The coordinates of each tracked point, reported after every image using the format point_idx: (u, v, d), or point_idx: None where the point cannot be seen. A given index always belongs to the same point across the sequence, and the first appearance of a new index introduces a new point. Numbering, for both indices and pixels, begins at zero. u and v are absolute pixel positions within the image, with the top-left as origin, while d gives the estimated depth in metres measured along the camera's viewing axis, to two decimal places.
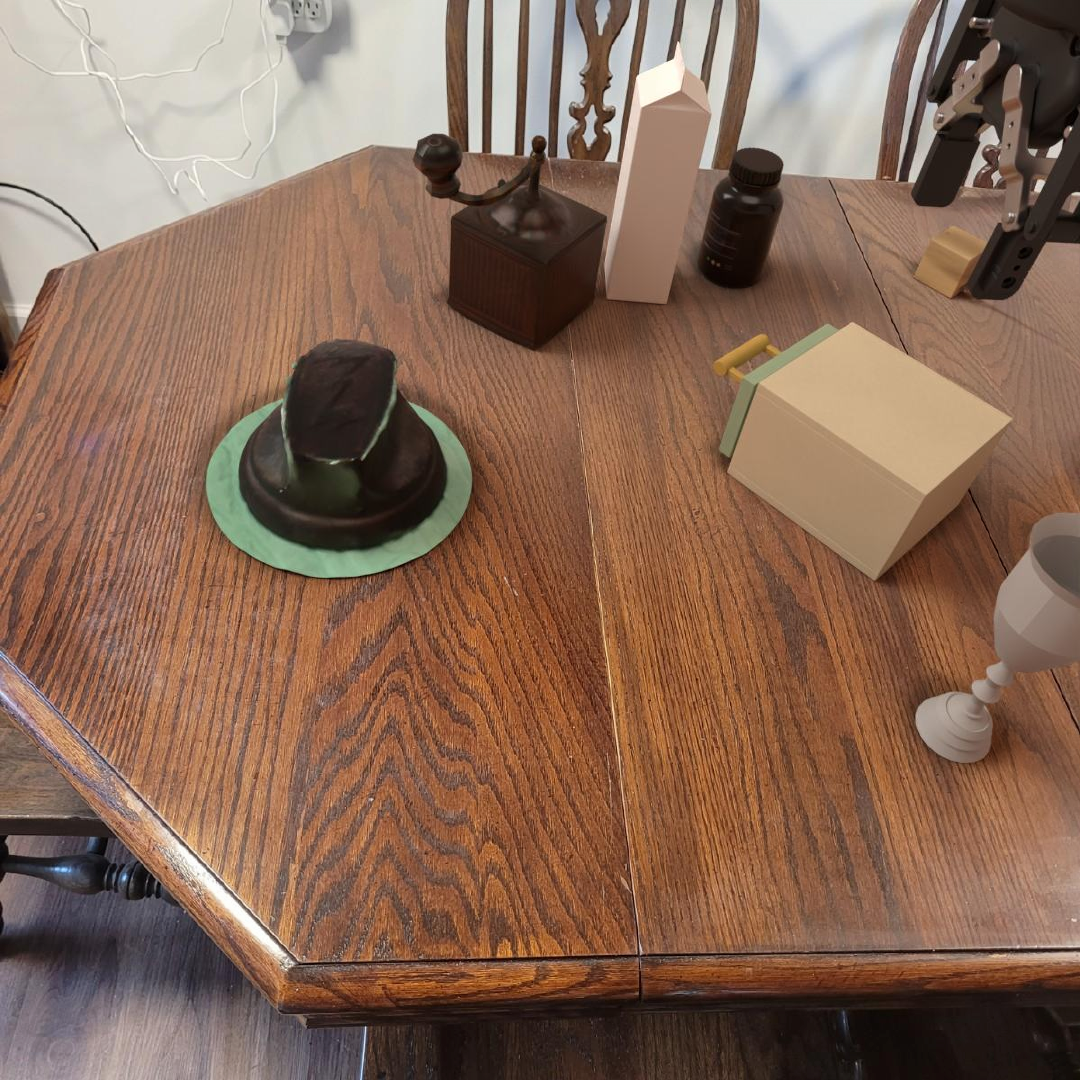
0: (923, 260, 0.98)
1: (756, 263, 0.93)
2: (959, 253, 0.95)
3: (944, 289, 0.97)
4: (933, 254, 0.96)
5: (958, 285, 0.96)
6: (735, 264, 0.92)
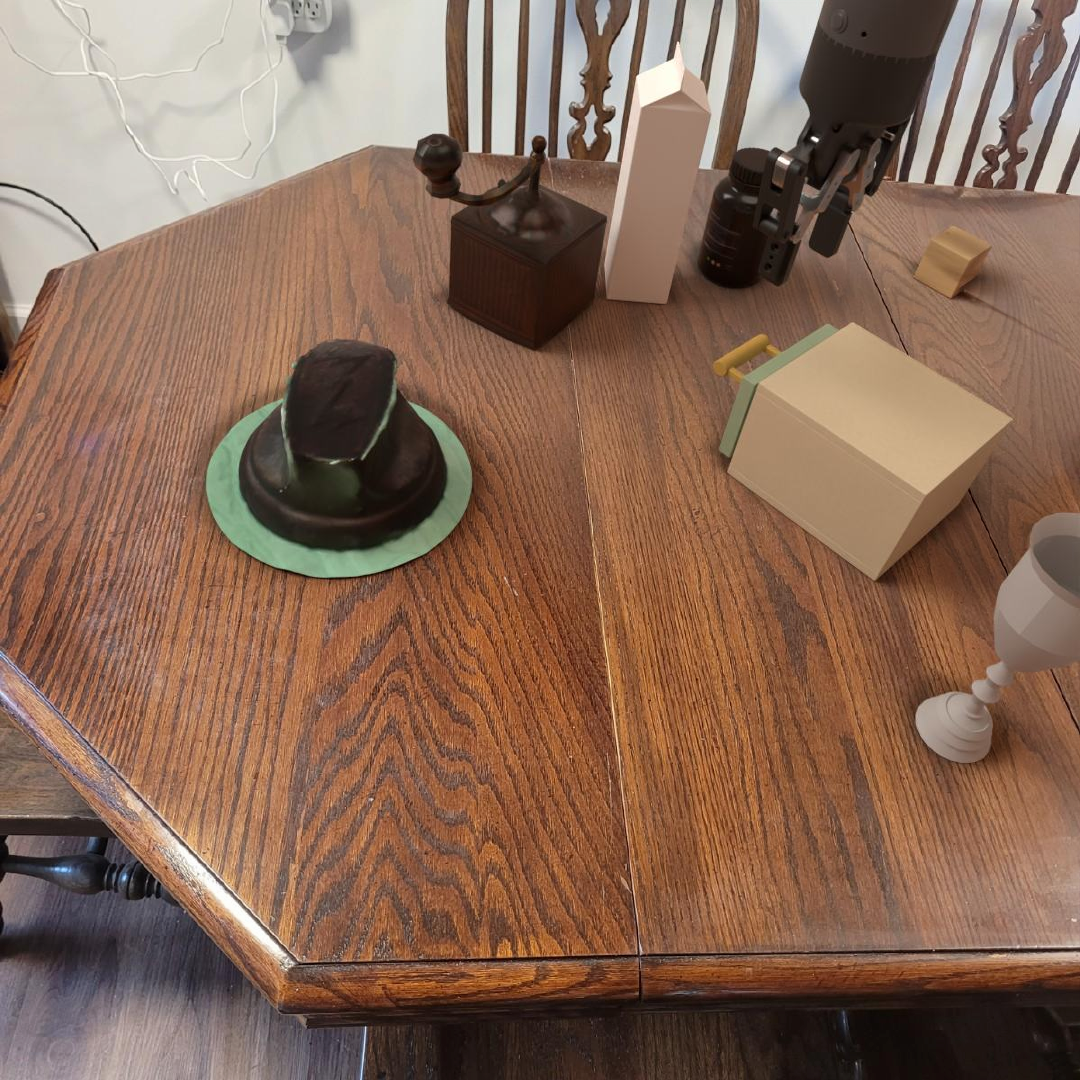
0: (923, 260, 0.98)
1: (756, 263, 0.93)
2: (959, 253, 0.95)
3: (944, 289, 0.97)
4: (933, 254, 0.96)
5: (958, 285, 0.96)
6: (735, 264, 0.92)
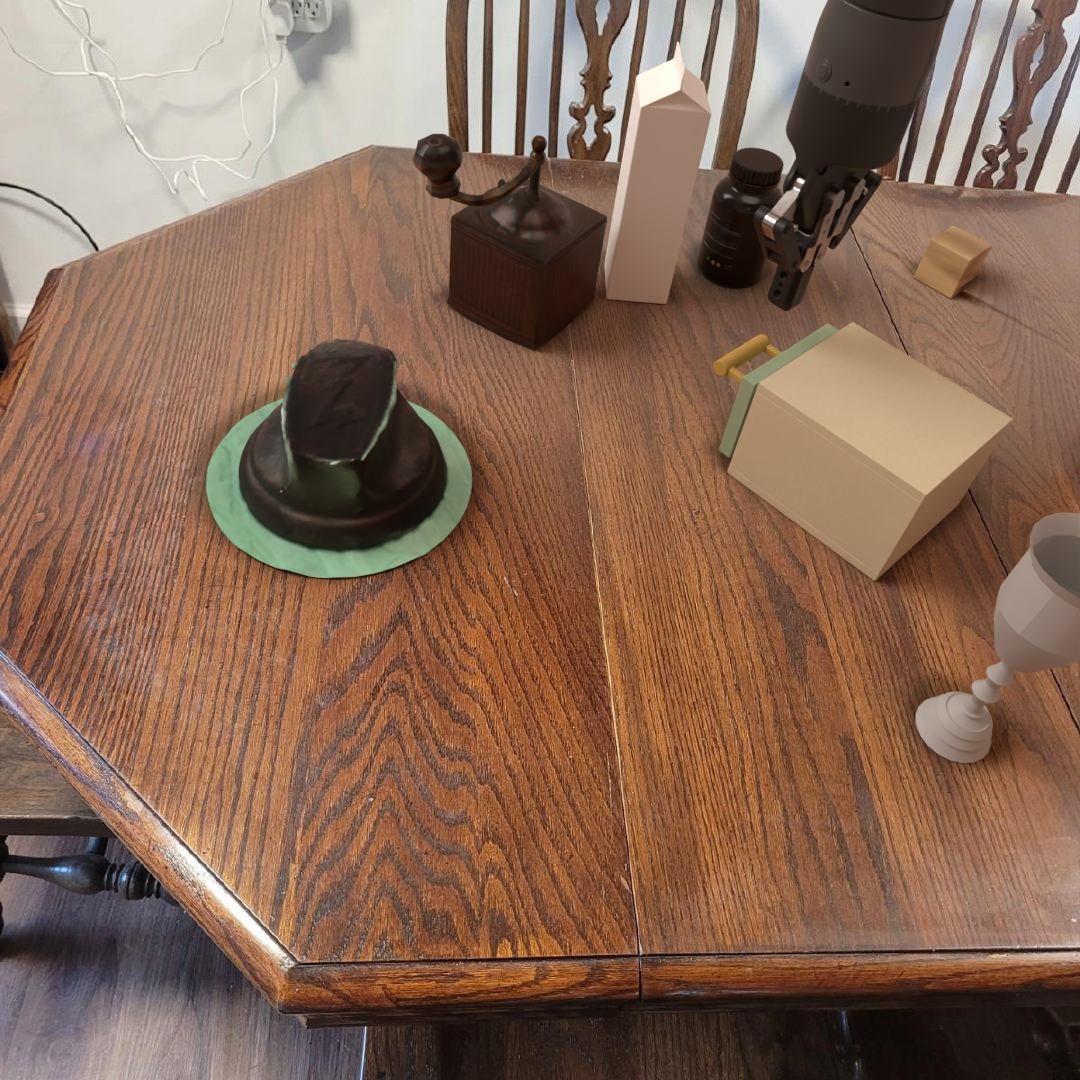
0: (923, 260, 0.98)
1: (756, 263, 0.93)
2: (959, 253, 0.95)
3: (944, 289, 0.97)
4: (933, 254, 0.96)
5: (958, 285, 0.96)
6: (735, 264, 0.92)
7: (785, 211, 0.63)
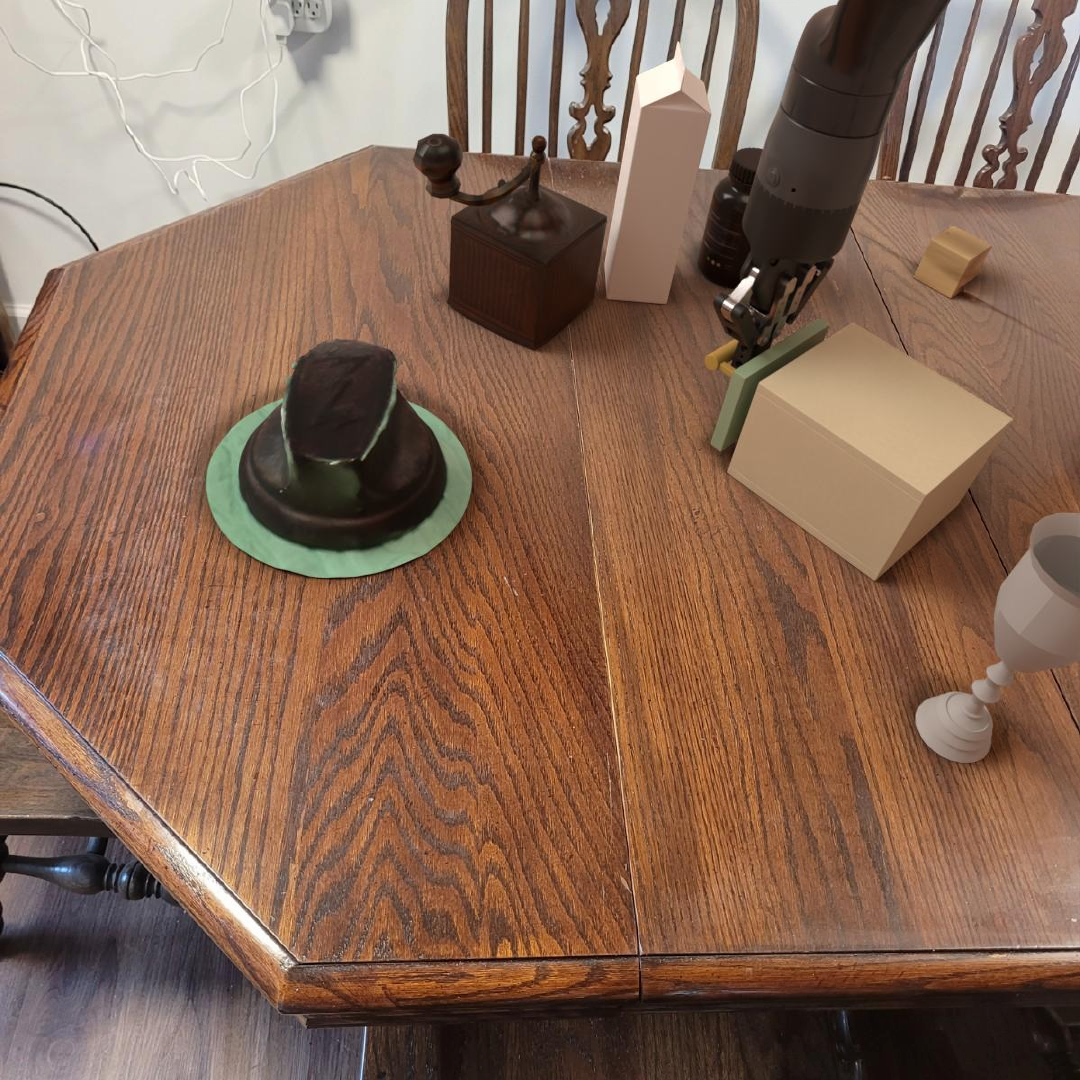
0: (923, 260, 0.98)
1: None
2: (959, 253, 0.95)
3: (944, 289, 0.97)
4: (933, 254, 0.96)
5: (958, 285, 0.96)
6: (735, 264, 0.92)
7: (742, 298, 0.69)
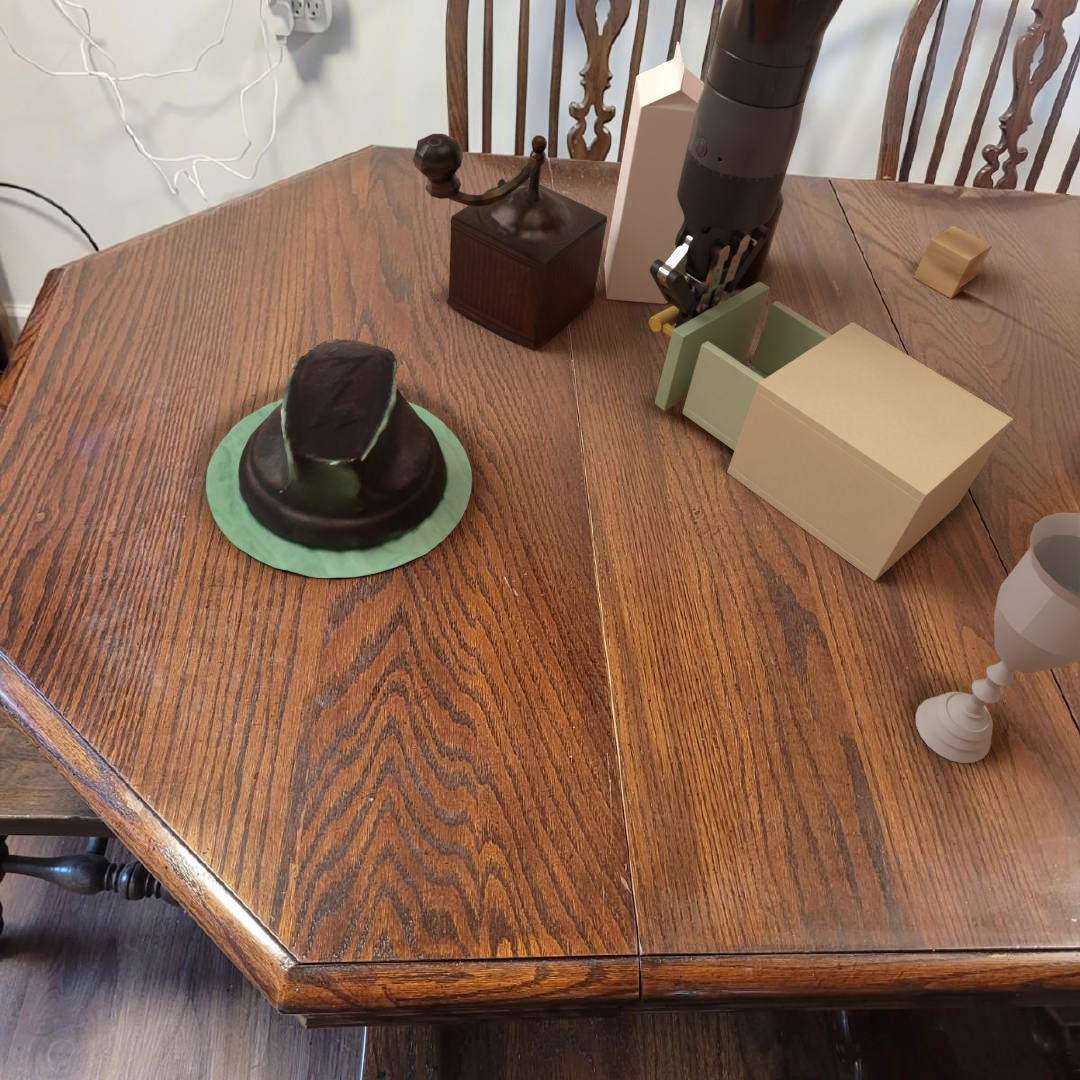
0: (923, 260, 0.98)
1: (756, 263, 0.93)
2: (959, 253, 0.95)
3: (944, 289, 0.97)
4: (933, 254, 0.96)
5: (958, 285, 0.96)
6: None
7: (676, 264, 0.72)
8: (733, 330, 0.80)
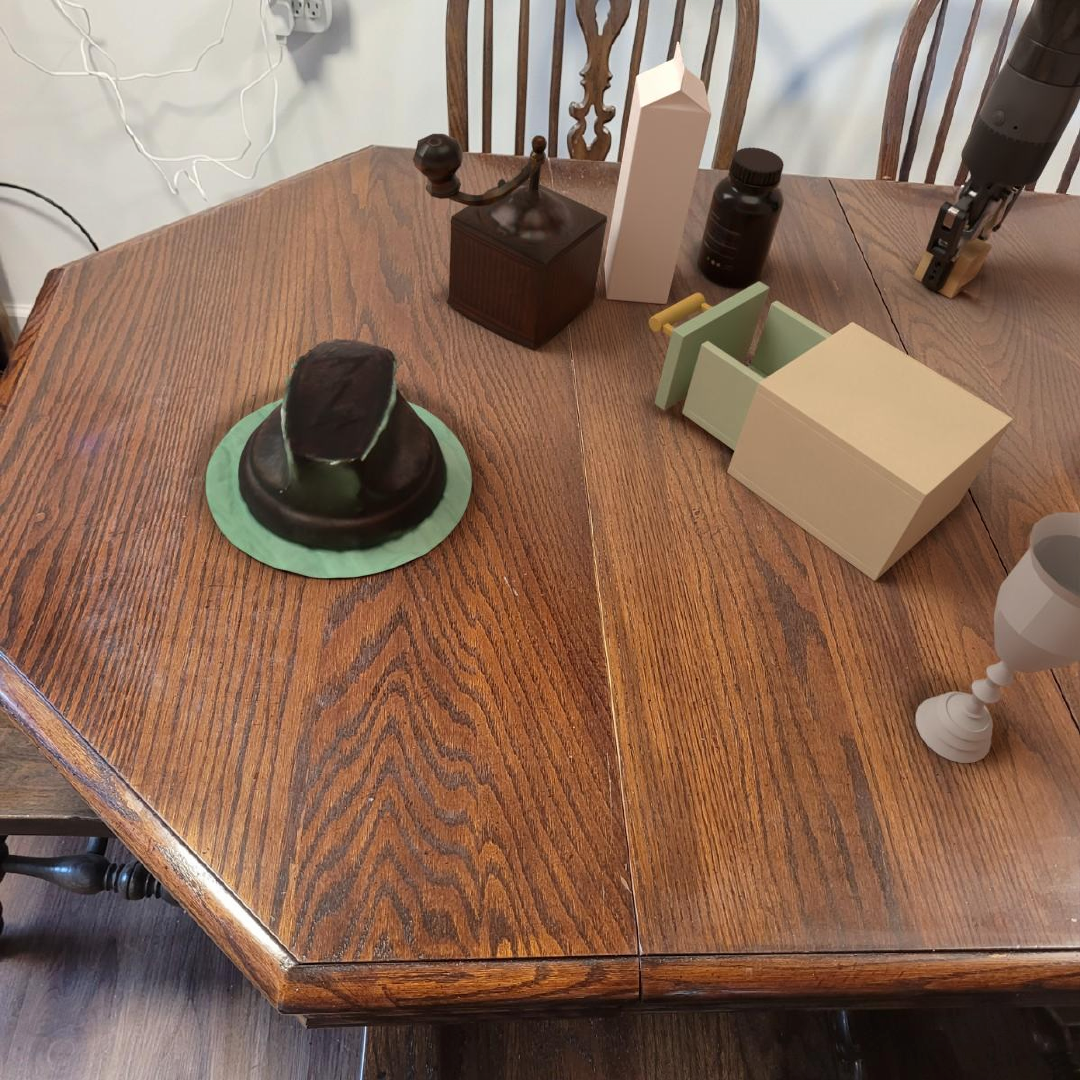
0: (923, 260, 0.98)
1: (756, 263, 0.93)
2: None
3: (944, 289, 0.97)
4: None
5: (958, 285, 0.96)
6: (735, 264, 0.92)
7: (964, 206, 0.89)
8: (733, 330, 0.80)
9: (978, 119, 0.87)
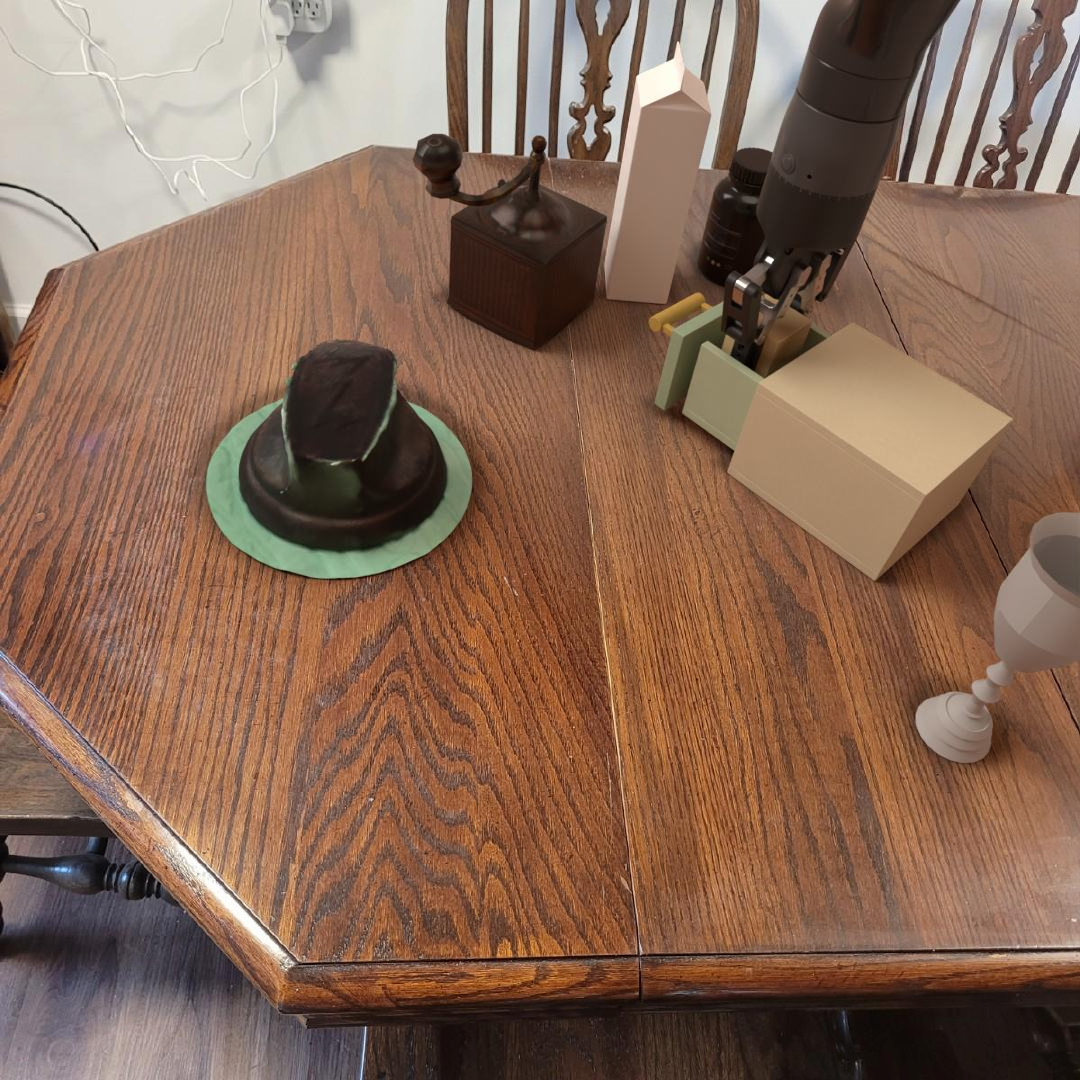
0: (727, 338, 0.76)
1: None
2: None
3: None
4: None
5: (769, 372, 0.74)
6: (735, 264, 0.92)
7: (757, 278, 0.67)
8: None
9: (770, 163, 0.65)
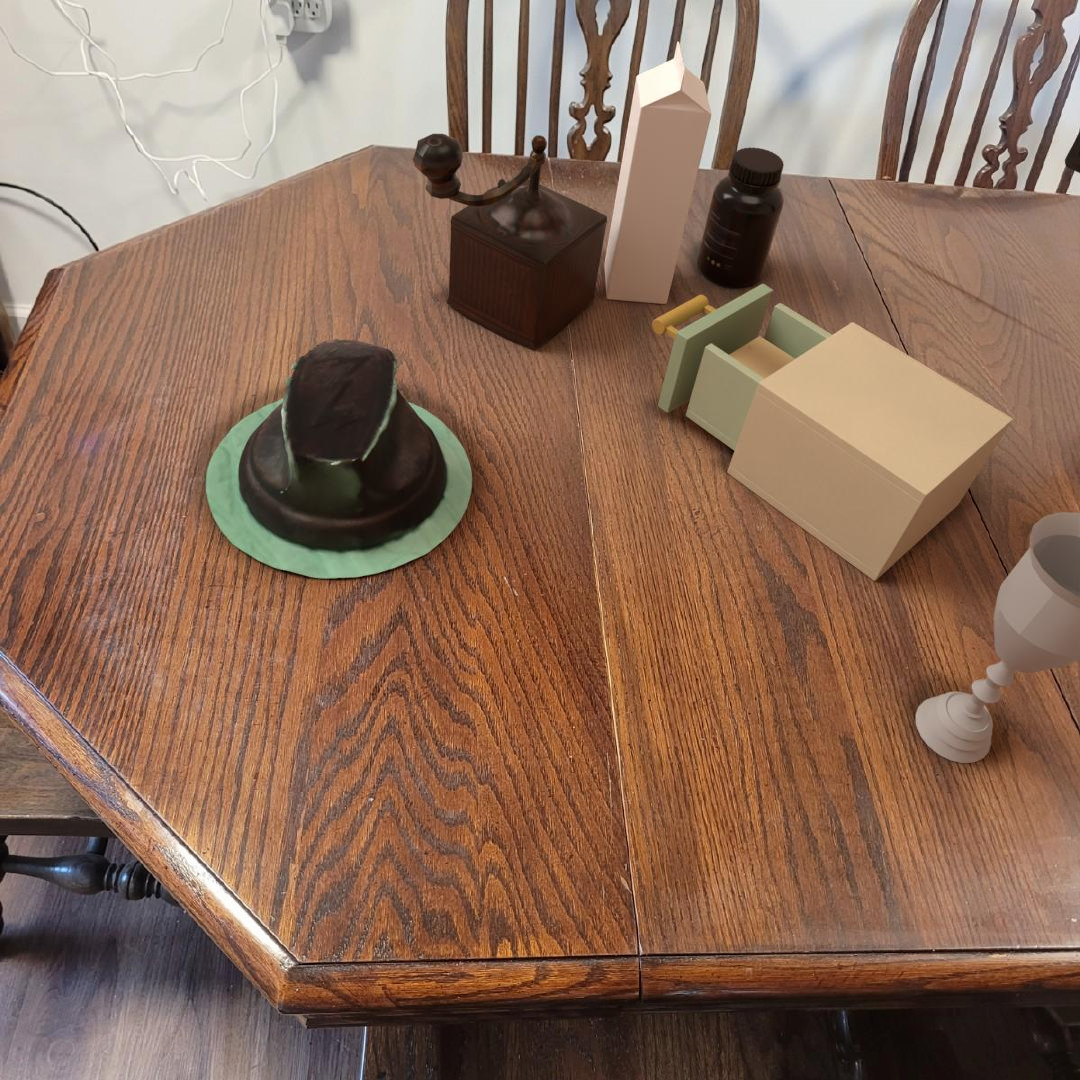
0: None
1: (756, 263, 0.93)
2: None
3: None
4: None
5: None
6: (735, 264, 0.92)
7: None
8: (736, 332, 0.80)
9: None
